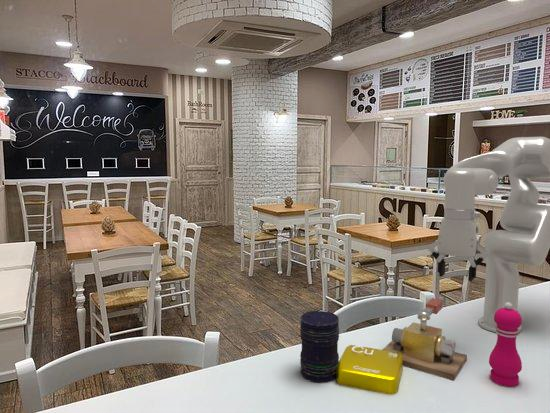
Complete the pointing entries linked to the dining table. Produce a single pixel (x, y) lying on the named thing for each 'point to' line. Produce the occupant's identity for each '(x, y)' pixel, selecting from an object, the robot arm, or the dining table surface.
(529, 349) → the dining table surface
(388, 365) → the element tile
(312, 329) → the black ridged cylinder
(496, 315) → the pepper mill
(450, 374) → the valve board
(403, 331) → the ball valve
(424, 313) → the valve lever
